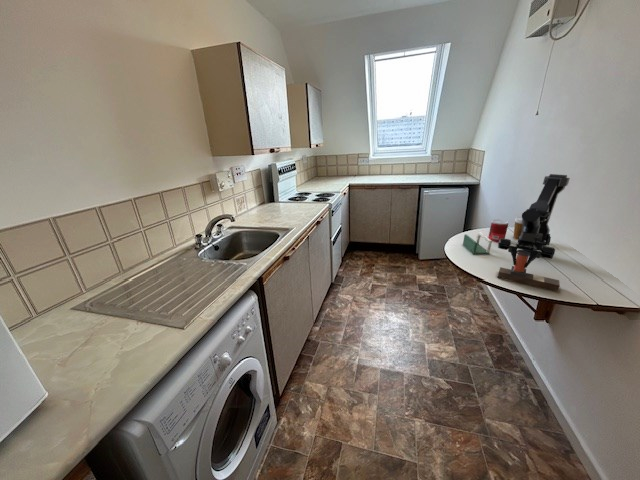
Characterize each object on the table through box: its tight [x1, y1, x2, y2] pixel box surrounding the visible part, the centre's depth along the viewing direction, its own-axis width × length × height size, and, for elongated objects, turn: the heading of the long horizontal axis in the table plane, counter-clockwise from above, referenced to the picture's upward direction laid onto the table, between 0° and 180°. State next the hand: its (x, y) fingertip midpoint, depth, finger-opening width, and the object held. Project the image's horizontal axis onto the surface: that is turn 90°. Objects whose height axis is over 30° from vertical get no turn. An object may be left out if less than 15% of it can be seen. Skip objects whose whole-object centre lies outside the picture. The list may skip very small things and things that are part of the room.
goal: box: [462, 231, 493, 255], centre depth 141 cm, size 8×12×8 cm, turn 178°
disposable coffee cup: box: [513, 216, 523, 241], centre depth 151 cm, size 10×10×12 cm
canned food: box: [487, 219, 509, 243], centre depth 151 cm, size 8×8×11 cm
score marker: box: [510, 249, 531, 278], centre depth 110 cm, size 5×6×10 cm
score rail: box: [497, 267, 561, 293], centre depth 111 cm, size 20×5×3 cm, turn 53°
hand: (519, 266), depth 110 cm, fingers closed on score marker, 3 cm apart
